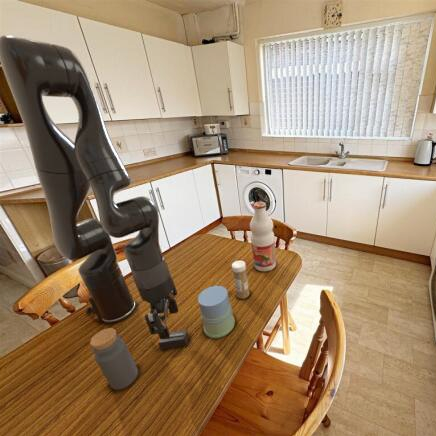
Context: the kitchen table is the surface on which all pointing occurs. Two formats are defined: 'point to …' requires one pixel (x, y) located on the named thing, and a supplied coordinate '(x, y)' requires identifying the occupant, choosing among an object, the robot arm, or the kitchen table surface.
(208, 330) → the stacked cups
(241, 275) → the sprinkles bottle
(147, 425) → the kitchen table surface
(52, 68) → the robot arm
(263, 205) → the fruit juice
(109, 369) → the bottle
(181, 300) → the kitchen table surface
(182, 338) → the clip
